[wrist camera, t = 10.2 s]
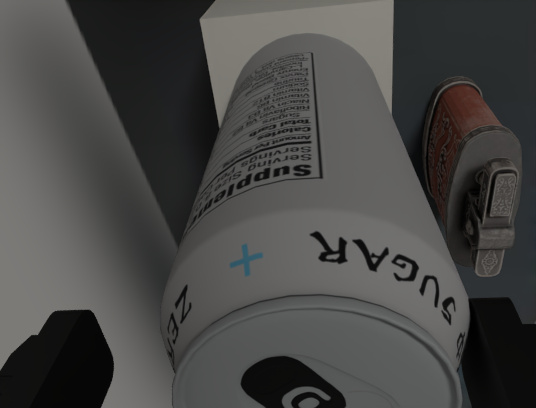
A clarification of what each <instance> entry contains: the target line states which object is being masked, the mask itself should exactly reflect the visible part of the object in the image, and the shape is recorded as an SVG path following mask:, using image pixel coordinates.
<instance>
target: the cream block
mask: <svg viewBox="0 0 536 408" xmlns="http://www.w3.org/2000/svg"><path fill="white" fill-rule="evenodd" d="M393 3H394V0H215V2H214V3H213V4H212V5H211V6H210V8H209V9H208V10H207V11H206V12H205V14H204V15H203V16H202V17H201V18H200V24H201V29H202V35H203V40H204V46H205V51H206V57H207V62H208V68H209V73H210V78H211V84H212V89H213V95H214V100H215V106H216V111H217V117H218V122H219V128H220V126H221V124H222V121H223V118H224V115H225V112H226V109H227V106H228V103H229V100H230V97H231V94H232V92H233V89H234V86H235V83H236V80H237V78H238V76H239V74H240V72H241V70H242V68H243V67H244V66H245V64H246V63H247V62H248V61H249V59H250V58H251V57H252V56H253V55H254V54H255V53H256V52H258V51H259V50H260V49H261V48H262V47H264V46H265V45H267V44H269V43H271V42H273V41H275V40H276V39H279V38H282V37H286V36H289V35H292V34H302V33H314V34H322V35H327V36H330V37H333V38H336V39H339V40H341V41H342V42H344V43H346V44H348V45H349V46H351V47H353V48H354V49H355V50H356V51H357V52H358V53H359V54H360V55H361V56H362V57H364V59H365V60H366V62H367V63H368V64H369V66H370V67H371V69H372V70H373V73H374V75H375V77H376V80H377V82H378V84H379V87H380V89H381V92H382V94H383V96H384V99H385V101H386V103H387V106H388V108H389V111H390V113H392V58H393Z"/></svg>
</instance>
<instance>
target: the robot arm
mask: <svg viewBox="0 0 536 408" xmlns="http://www.w3.org/2000/svg"><path fill="white" fill-rule="evenodd" d="M468 302H469V309H470V317H471V322H470V329H469V335H468V342H467V347H466V350H465V353H464V356H463V358H462V361H461V364H462V371H463V377H464V381H465V384H466V388H467V392H468V395H469V399H470V402H471V406H472V408H536V324H522V322H521V320H520V318H519V316H518V313H517V311H516V309H515V307H514V305H513V303H512V301H511V299H510V298H508V297H499V298H469V299H468ZM113 371H114V361H113V356H112V353H111V351H110V348H109V346H108V344H107V342H106V339H105V337H104V335H103V333H102V330H101V328H100V326H99V324H98V321H97V319H96V317H95V315H94V313H93V312H92V311H91V310H64V311H55V312H53V313H52V314H51V315H50V316H49V318H48V320H47V321H46V323H45V324H44V326H43V328H42V329H41V331H40V333H39V334H38V335H31V336H30V337H29V338H28V339H27V340H26V341H25V342H24V343H23V344H21V345H20V346H19V347H18V348H17V349H16V350H15V351H14V352H13V353H12V354H11V355H10V356H9V358H8V360H7V361H6V363H5V364H4V366H3V367H2V369H1V370H0V408H101V406H102V404H103V401H104V399H105V396H106V394H107V391H108V389H109V387H110V384H111V381H112V378H113Z"/></svg>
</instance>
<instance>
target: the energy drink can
mask: <svg viewBox="0 0 536 408" xmlns="http://www.w3.org/2000/svg"><path fill="white" fill-rule="evenodd" d="M470 322H471V317H470V309H469V302H468V296H467V294H466V291H465V289H464V286H463V284H462V282H461V279H460V277H459V275H458V272H457V270H456V267H455V265H454V263H453V260H452V258H451V256H450V253H449V251H448V248H447V246H446V244H445V241H444V239H443V237H442V234H441V232H440V229H439V227H438V225H437V222H436V220H435V218H434V215H433V213H432V210H431V208H430V206H429V203H428V201H427V199H426V196H425V194H424V191H423V189H422V187H421V184H420V182H419V179H418V177H417V175H416V172H415V170H414V168H413V165H412V163H411V160H410V158H409V156H408V153H407V151H406V149H405V146H404V144H403V141H402V139H401V137H400V134H399V132H398V130H397V127H396V125H395V122H394V120H393V118H392V115H391V113H390V111H389V108H388V106H387V103H386V101H385V99H384V96H383V94H382V92H381V89H380V87H379V84H378V82H377V80H376V77H375V75H374V73H373V70H372V69H371V67H370V66H369V64H368V63H367V62H366V60H365V59H364V57H362V56H361V55H360V54H359V53H358V52H357V51H356V50H355V49H354V48H353V47H351V46H349V45H348V44H346V43H344V42H342V41H341V40H339V39H336V38H333V37H330V36H327V35H322V34H314V33H302V34H292V35H289V36H286V37H282V38H279V39H276V40H275V41H273V42H271V43H269V44H267V45H265V46H264V47H262V48H261V49H260V50H259V51H258V52H256V53H255V54H254V55H253V56H252V57H251V58H250V59H249V61H248V62H247V63H246V64H245V66H244V67H243V68H242V70H241V72H240V74H239V76H238V78H237V80H236V83H235V86H234V89H233V92H232V94H231V97H230V100H229V103H228V106H227V109H226V112H225V115H224V118H223V121H222V124H221V126H220V129H219V132H218V135H217V138H216V141H215V144H214V147H213V150H212V153H211V156H210V158H209V161H208V164H207V167H206V170H205V173H204V176H203V179H202V182H201V185H200V188H199V191H198V193H197V196H196V199H195V202H194V205H193V208H192V211H191V214H190V217H189V220H188V223H187V225H186V228H185V231H184V234H183V237H182V240H181V243H180V246H179V249H178V252H177V255H176V257H175V260H174V264H173V266H172V269H171V272H170V275H169V278H168V281H167V284H166V287H165V291H164V295H163V299H162V303H161V306H160V325H161V326H160V328H161V333H162V337H163V341H164V344H165V348H166V351H167V354H168V357H169V360H170V362H171V365H172V367H173V370H174V372H175V377H174V380H173V384H172V406H173V408H461V406H462V393H461V387H460V380H459V376H458V374H457V372H458V369H459V367H460V364H461V361H462V358H463V356H464V353H465V350H466V347H467V342H468V335H469V329H470Z"/></svg>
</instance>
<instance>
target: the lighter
mask: <svg viewBox="0 0 536 408" xmlns="http://www.w3.org/2000/svg"><path fill="white" fill-rule="evenodd" d="M422 146H423V169H424V175H425V182H426V186H427V188H428V191H429V193H430V195H431V196H432V197H433V198H434V199H435V202H436V204H437V207H438V210H439V213H440V216H441V218H442V221H443V224H444V227H445V233H446V240H447V247H448V249H449V252H450V255H451V257H452V260H454V261H455V262H456V263H457V264H460V265H462V266H466V267H474V270H475V272H476V274H477V275H479V276H484V277H488V276H495V275H497V274H498V273H499V272H500V269H501V265H502V260H503V255H504V250H505V249H508V248H512V247H513V245H514V240H515V230H514V224H513V222H514V219H515V216H516V212H517V209H518V205H519V199H520V190H521V181H522V159H521V146H520V143H519V140H518V139H517V138H516V136H515V135H514V134H513V133H512V132H511V131H510V130H509V129H508V128H505V127H503V126H502V125H501V124H500V122H499V121H498V120H497V118H496V117H495V115H494V114H493V113H492V111H491V110H490V109H489V107H488V106H487V104H486V103H485V102H484V100H483V97H482V93H481V90H480V89H479V87H478V86H477V85H476V84H475V83H474V82H473V81H472V80H471V79H469V78H466V77H458V76H457V77H452V78H448V79H446V80H444V81H442V82H441V83H440V84H439V85H438V86H437V87H436V88H435V90H434V92H433V95H432V98H431V102H430V105H429V109H428V112H427V116H426V121H425V128H424V134H423V141H422Z"/></svg>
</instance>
